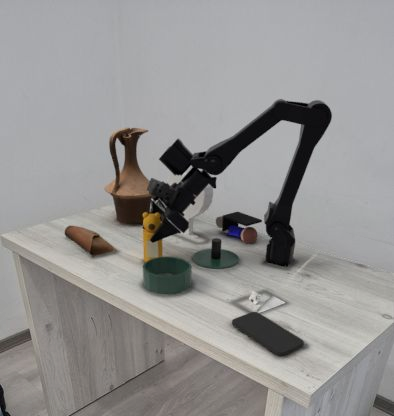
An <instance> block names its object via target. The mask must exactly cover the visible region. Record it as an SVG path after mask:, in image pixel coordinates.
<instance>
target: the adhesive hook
mask: <svg viewBox="0 0 394 416" xmlns="http://www.w3.org/2000/svg"><path fill="white" fill-rule="evenodd" d="M249 295H250V296H249V297H248V301H250V302H251V301H253V302H252V304H253V305H257V304H258V303H259V302H260V300H261V299H260V298H261V297H262V294H259V293H258V292H256V291H254V290H251V293H250V294H249ZM284 304H286V302H285V301H283V300H282V299H280V298H278V297H276V296H275V295H273V294H272V295H271V296H269V298H267V299H266V300H265V301H264V302H263V303H262V305H260V306H259V307H258V308H257V309H256V312H257V313H259V314H261V313H264V312H265V311H268V310H271V309H274V308H277V307H279V306H281V305H284Z"/></svg>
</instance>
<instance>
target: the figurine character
mask: <svg viewBox="0 0 394 416" xmlns="http://www.w3.org/2000/svg"><path fill="white" fill-rule="evenodd" d="M259 223H260V224H261V223H263V219H261V218H259V217H255V216H252V215H249V214H247V213H243V212H240V211H235V212H231V213H226V214H223V215H221V216H220V215H219V216H217V217H216V218H215V224H216V226H217V228H218V229H221V232H222V233H223V234H224V235H228V236H233V237H236V238H239V239H241V241H242V242H243V243H244V244H249V245H250V244H253V243H255V242H256V241H257V240H258V235H259V234H258V231H257V229H256V228H254V227H252V225H257V224H259ZM239 225H241V226H239ZM242 226H244V227H242Z"/></svg>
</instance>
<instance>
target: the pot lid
mask: <svg viewBox="0 0 394 416" xmlns="http://www.w3.org/2000/svg"><path fill="white" fill-rule="evenodd" d="M192 261H193V263H194V264H195V265H197V266H198V267H202V268H206V269H212V270H222V269H223V270H224V269H230V268H232V267H234V266H235V267H236V265H238V263H239V262H240V258H239V255H238V254H237V253H235V252H233V251H230V250H228V249H223V248H222V239H221V238H218V237H215V238H212V239H211V248H207V249H201V250H198V251H196V252H194V254H193V255H192Z"/></svg>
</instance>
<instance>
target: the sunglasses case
mask: <svg viewBox="0 0 394 416" xmlns="http://www.w3.org/2000/svg"><path fill="white" fill-rule="evenodd" d="M64 236H65V237H66V238H68V239H69V240H71V241H73V242H74V243H75V244H76V245H78V246H79V247H80V248H81V249H83V250H84V251H85V252H86V253H88V254H89V255H90V256H92V257H93V258H94V257H97V256H100V255H105V254H109V253H115V252H116V251H117V250H116V248H115V247H114V246H113V245H112V244H111V243H110V242H108V241H107V240H106V239H104V238H103V237H102V236H101V234H100V233H97V232H96V231H94V230H90V229H88V228H85V227H83V226H78V225H67V227H65V229H64Z"/></svg>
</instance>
